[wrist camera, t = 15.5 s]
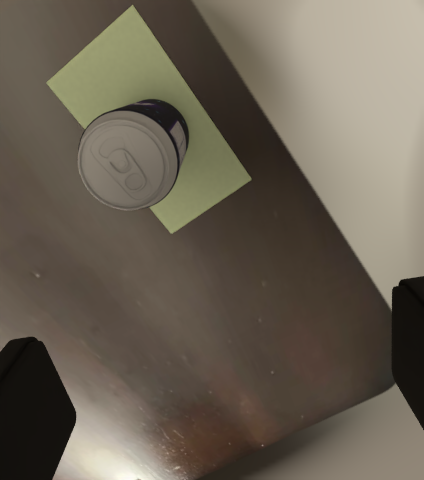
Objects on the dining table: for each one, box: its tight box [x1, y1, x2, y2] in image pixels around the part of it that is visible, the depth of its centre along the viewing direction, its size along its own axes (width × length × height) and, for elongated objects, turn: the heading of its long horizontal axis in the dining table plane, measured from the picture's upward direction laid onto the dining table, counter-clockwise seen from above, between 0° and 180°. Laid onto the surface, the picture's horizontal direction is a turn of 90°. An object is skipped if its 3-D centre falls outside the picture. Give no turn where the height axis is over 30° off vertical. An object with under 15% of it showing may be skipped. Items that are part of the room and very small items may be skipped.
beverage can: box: [78, 99, 189, 210], centre depth 25 cm, size 6×6×12 cm
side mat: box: [47, 5, 252, 234], centre depth 30 cm, size 16×9×1 cm, turn 36°
